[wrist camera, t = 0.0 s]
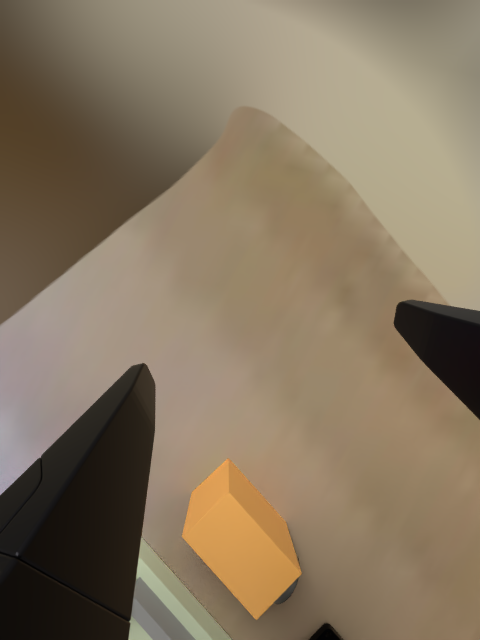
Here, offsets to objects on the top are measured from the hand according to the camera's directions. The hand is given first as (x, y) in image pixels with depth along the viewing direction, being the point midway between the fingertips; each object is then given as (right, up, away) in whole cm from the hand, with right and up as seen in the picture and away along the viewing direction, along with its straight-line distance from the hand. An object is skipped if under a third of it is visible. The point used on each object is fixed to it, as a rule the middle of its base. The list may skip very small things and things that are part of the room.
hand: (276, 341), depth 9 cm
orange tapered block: (-1, -17, +14) cm, 22 cm away
